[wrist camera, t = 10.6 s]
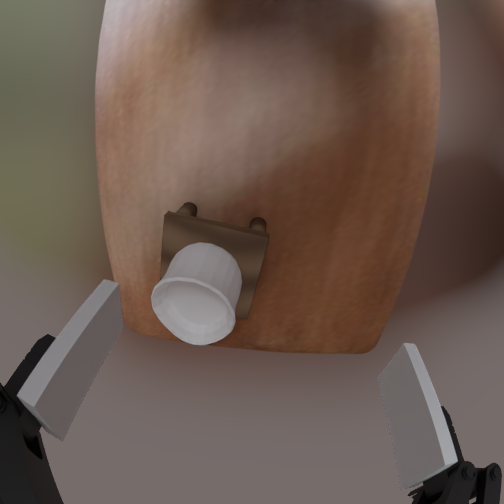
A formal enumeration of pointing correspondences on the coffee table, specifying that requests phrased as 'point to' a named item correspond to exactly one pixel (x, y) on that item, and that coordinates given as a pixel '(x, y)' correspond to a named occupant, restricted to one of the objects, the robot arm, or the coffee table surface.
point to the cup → (199, 294)
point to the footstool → (222, 235)
